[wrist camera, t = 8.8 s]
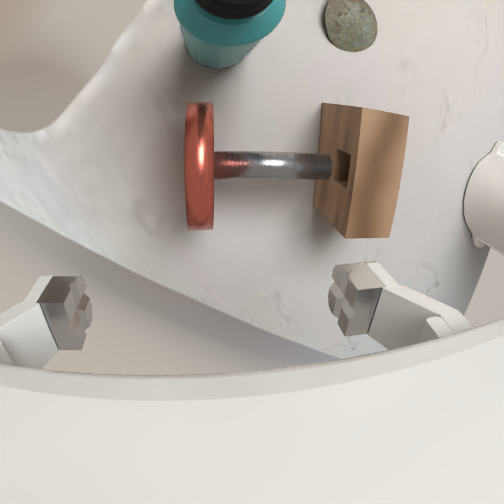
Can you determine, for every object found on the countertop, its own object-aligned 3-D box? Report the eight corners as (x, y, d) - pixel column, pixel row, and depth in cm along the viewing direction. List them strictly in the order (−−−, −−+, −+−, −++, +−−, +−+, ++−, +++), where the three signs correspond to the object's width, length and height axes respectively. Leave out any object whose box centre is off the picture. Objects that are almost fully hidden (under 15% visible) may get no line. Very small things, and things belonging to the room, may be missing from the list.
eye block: (362, 108, 32) (409, 116, 23) (350, 205, 37) (388, 237, 29) (322, 102, 31) (362, 107, 23) (312, 204, 36) (345, 238, 28)
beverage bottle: (260, 54, 27) (343, 3, 10) (203, 83, 28) (207, 58, 11) (230, 5, 24) (272, -95, 7) (172, 34, 25) (136, -47, 8)
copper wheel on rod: (311, 106, 30) (361, 113, 20) (303, 203, 35) (342, 247, 25) (189, 102, 28) (184, 103, 18) (191, 205, 33) (188, 253, 23)
